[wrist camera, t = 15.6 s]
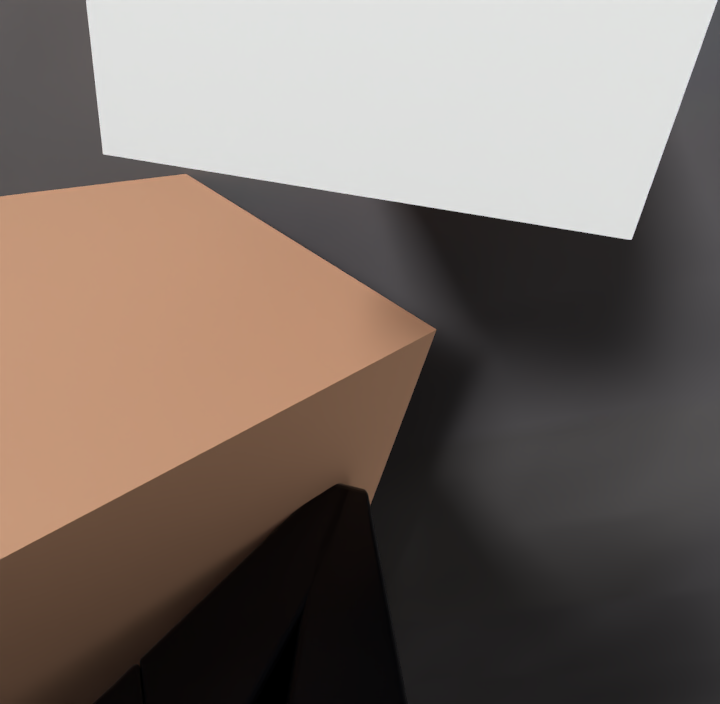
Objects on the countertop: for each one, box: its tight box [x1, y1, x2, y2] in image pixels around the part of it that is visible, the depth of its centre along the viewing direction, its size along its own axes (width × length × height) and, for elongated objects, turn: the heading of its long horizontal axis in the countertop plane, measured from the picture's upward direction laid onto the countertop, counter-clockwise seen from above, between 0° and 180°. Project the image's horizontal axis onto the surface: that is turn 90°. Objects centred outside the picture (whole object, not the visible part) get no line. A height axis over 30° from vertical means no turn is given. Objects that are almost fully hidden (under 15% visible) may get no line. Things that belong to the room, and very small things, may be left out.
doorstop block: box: [0, 174, 436, 704], centre depth 9 cm, size 6×5×6 cm
